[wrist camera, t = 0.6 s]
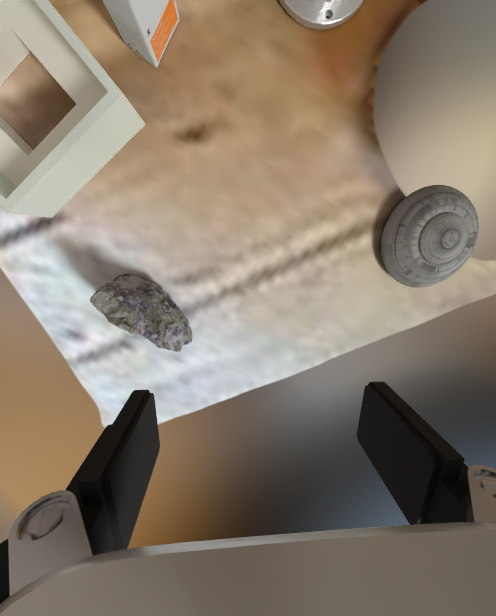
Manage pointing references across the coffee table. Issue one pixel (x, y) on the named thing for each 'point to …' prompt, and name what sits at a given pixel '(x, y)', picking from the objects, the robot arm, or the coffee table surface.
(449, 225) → the flying saucer
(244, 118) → the coffee table surface
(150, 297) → the mineral rock
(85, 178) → the peg box
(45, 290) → the coffee table surface
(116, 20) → the skincare box
